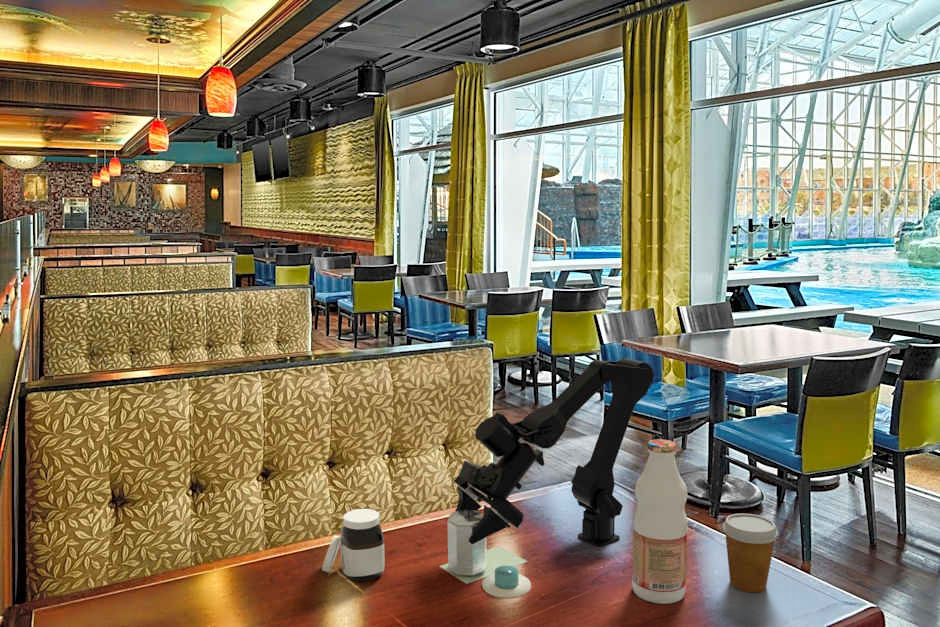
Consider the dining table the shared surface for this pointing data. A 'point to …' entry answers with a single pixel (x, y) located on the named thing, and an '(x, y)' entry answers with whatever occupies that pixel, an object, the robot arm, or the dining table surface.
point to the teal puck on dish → (506, 583)
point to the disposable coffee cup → (749, 550)
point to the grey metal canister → (465, 543)
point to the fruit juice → (660, 528)
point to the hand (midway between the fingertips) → (460, 535)
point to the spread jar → (358, 546)
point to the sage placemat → (490, 564)
